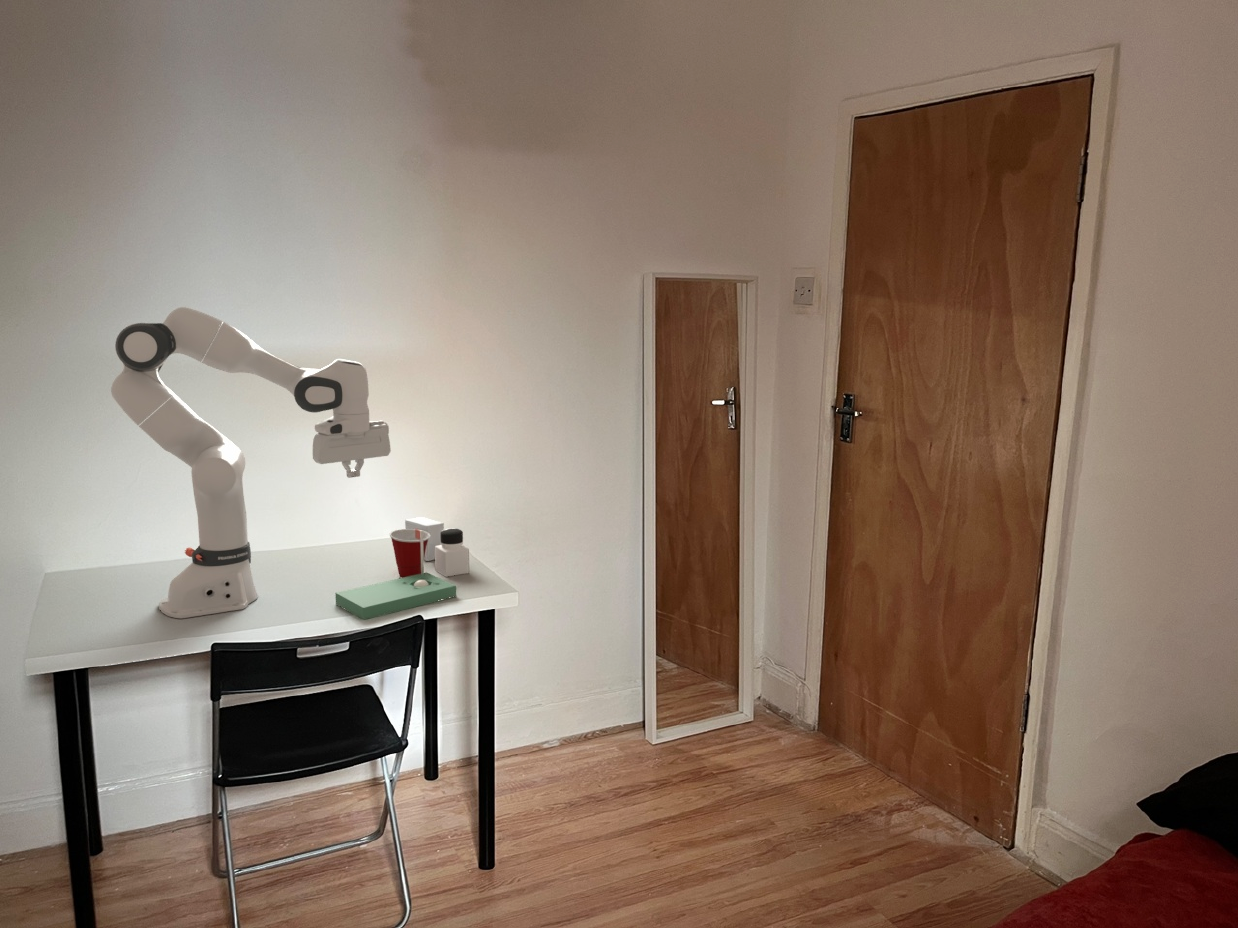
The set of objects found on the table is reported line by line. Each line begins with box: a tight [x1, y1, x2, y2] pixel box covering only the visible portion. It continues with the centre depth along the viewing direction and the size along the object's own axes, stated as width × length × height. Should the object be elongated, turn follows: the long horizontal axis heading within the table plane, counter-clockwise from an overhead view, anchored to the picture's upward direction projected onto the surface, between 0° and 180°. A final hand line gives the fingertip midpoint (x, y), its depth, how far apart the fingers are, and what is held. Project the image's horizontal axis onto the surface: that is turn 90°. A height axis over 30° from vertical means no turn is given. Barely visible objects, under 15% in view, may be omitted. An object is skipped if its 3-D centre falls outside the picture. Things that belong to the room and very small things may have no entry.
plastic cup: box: [389, 528, 431, 578], centre depth 261 cm, size 11×11×12 cm
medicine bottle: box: [434, 527, 470, 578], centre depth 266 cm, size 7×7×12 cm
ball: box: [414, 580, 429, 587], centre depth 247 cm, size 4×4×4 cm
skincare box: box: [404, 516, 445, 562], centre depth 280 cm, size 10×6×10 cm, turn 49°
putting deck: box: [335, 529, 457, 621], centre depth 242 cm, size 26×16×15 cm, turn 133°
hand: (353, 476), depth 248 cm, fingers closed
